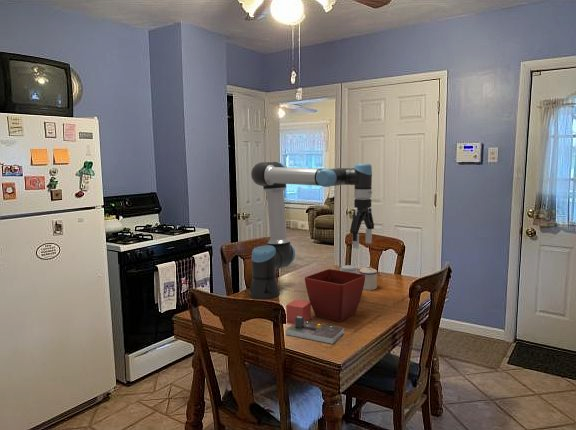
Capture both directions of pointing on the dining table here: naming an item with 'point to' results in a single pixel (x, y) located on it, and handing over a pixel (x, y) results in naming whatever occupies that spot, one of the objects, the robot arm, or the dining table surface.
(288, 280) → the dining table surface
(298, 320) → the breaker toggle
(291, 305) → the red cube
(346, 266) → the supplement can
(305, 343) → the dining table surface
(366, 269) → the teacup with lid
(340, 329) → the breaker panel
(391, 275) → the dining table surface
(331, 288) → the plant pot
